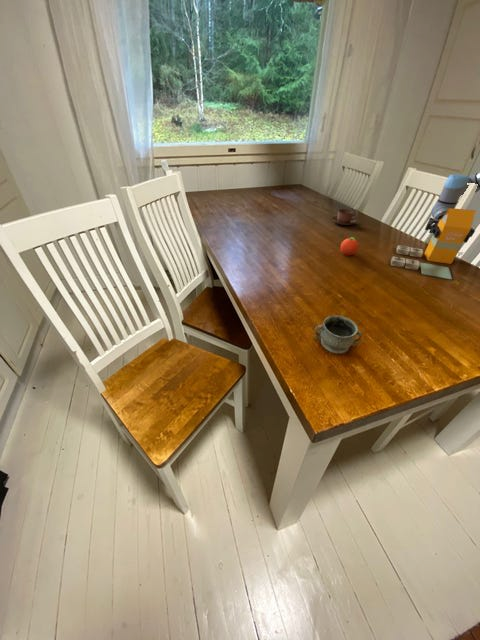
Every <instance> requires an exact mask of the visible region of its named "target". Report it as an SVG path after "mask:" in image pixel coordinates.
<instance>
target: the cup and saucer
mask: <svg viewBox="0 0 480 640" xmlns="http://www.w3.org/2000/svg"><path fill="white" fill-rule="evenodd" d="M353 217H355V218H353ZM357 220H358V215H357V214H354V211H353V210H351V209H348V208H341V209H339V210H338V212H337V215H335V216H333V217H332V222H333V223H335V224H337V225H341V226H351V225H354V224H356V222H357Z"/></svg>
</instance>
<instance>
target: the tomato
mask: <svg viewBox="0 0 480 640" xmlns="http://www.w3.org/2000/svg"><path fill="white" fill-rule="evenodd" d="M358 250H359V243H358V241H357V240H356V238H355V237H352V236H351V237H348V238H345V239H344V240H343V241H342V242H341V244H340V251H341V253H343V255H346V256H351V255H354V254H355V253H356V252H358Z"/></svg>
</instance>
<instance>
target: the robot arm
mask: <svg viewBox="0 0 480 640" xmlns="http://www.w3.org/2000/svg"><path fill="white" fill-rule="evenodd" d="M467 183H475V184H478V186H477V189H476V191H475V193H474V194H476V193H478V192H480V170H479V171H477V172H476V173H473V174H471V175H470V176H468V175H465V174H460V173H453V174H450V175H449V176H448V177H447V178H446V181H445V182H444V185H443V187H442V190H441V192H440V195H439V197H438V199H437V201H436V203H435V204H434V205H433V206H432V208H431V217H429V218H428V221H427V223H426V225H425V228H424V230H425V231H429V232H428V234H432V235H433V234H434V238H437V236H438V234H439V232H440V230H439V227H438V226H437V225H438V223H439V221H440V219H441V218H442V217H443V216H444V214H445V213H446V212H447V211H448V209H449V208H454V209H456V206H457V204H458V202H459V200H460V199H461V197H462V196H461V195H463V194H464V192H465V191H466V189H467V188H468V186H469V185H467ZM460 196H461V197H460ZM475 232H476V229H474V228H473V227H471V229H470V231H469V233H468V235H467V236H466V238H465V240H464V242H463V243H466V244H467V243H468V241H469V239H470V238H472V237H473V236H474V234H475Z"/></svg>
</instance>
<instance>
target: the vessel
mask: <svg viewBox="0 0 480 640" xmlns="http://www.w3.org/2000/svg"><path fill="white" fill-rule="evenodd" d="M313 330H314V335H315V339H317V340H320V343H321V345H322V347H323V348H324V349H325V350H327V351H328V352H330V353H333V354H345V353H347V352H348V351H349V349H350V347H351V346H356V345H357V343H359V342H361V340H362V339H363V333H362V332H361V330H359V329H358V325H357V324H356V323H355V322H354V321H353V320H351V319H350V318H349V317H346V316H342V315H336V314H335V315H329V316H328V317H326V318H325V319H324V320H323V322H322V324H319V325H317V326H316V327H315V328H314V329H313ZM318 330H320V332H319V333H318ZM356 336H359V337H358V338H356Z"/></svg>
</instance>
